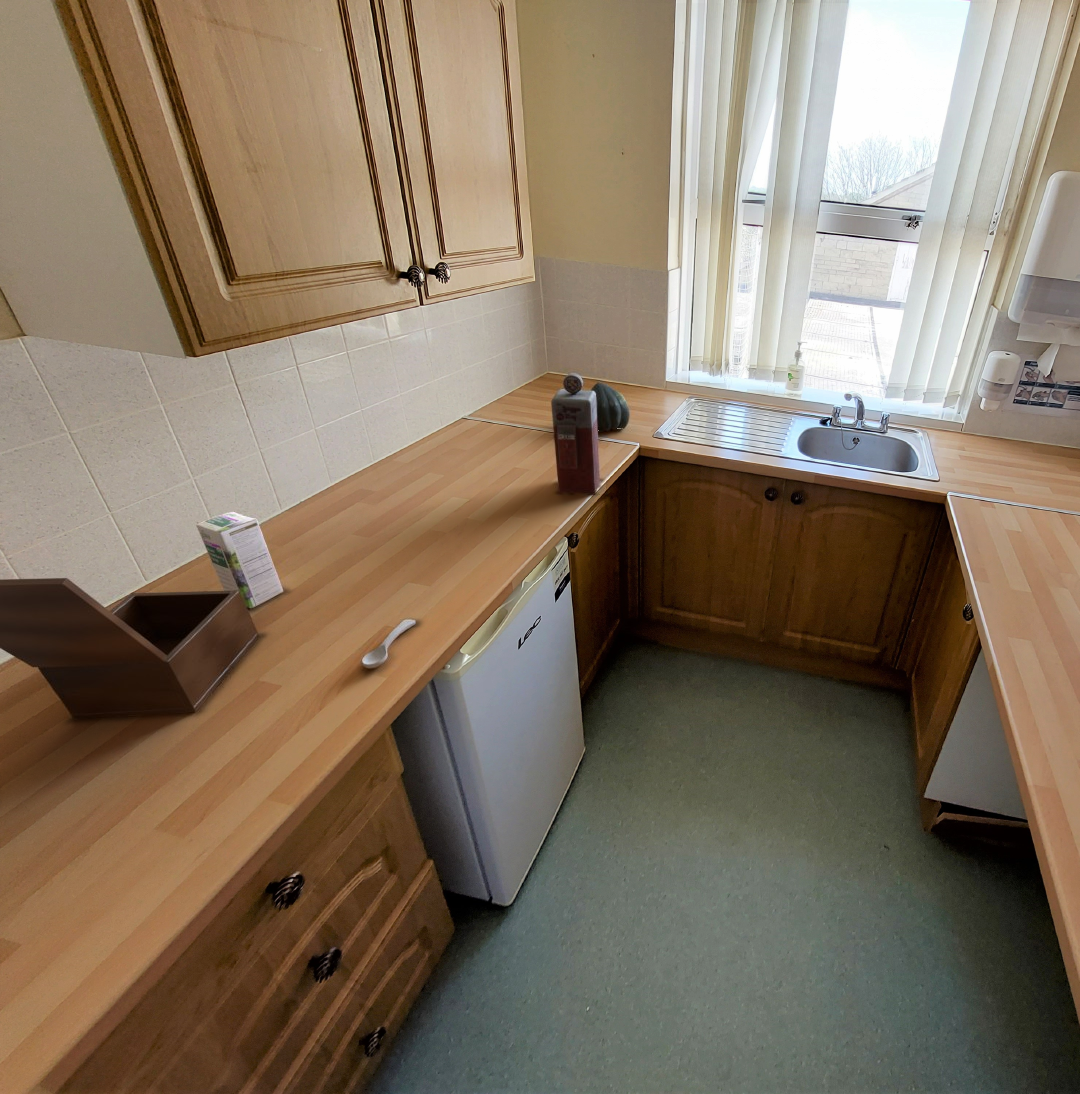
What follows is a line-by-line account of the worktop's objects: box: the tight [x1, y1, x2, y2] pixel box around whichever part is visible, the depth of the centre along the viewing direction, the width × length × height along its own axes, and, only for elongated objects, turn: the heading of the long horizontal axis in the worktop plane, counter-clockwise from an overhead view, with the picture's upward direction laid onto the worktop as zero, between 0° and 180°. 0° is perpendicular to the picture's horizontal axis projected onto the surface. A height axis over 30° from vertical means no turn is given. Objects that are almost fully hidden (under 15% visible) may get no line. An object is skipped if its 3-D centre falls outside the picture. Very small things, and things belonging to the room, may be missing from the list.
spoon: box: [361, 618, 416, 669], centre depth 88 cm, size 3×12×2 cm, turn 178°
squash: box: [589, 381, 631, 433], centre depth 180 cm, size 14×15×15 cm
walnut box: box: [37, 590, 260, 720], centre depth 78 cm, size 16×14×9 cm
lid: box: [0, 577, 167, 668], centre depth 63 cm, size 16×14×1 cm
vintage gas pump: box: [550, 372, 601, 495], centre depth 136 cm, size 9×11×28 cm
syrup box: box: [195, 511, 284, 609], centre depth 93 cm, size 6×6×14 cm
